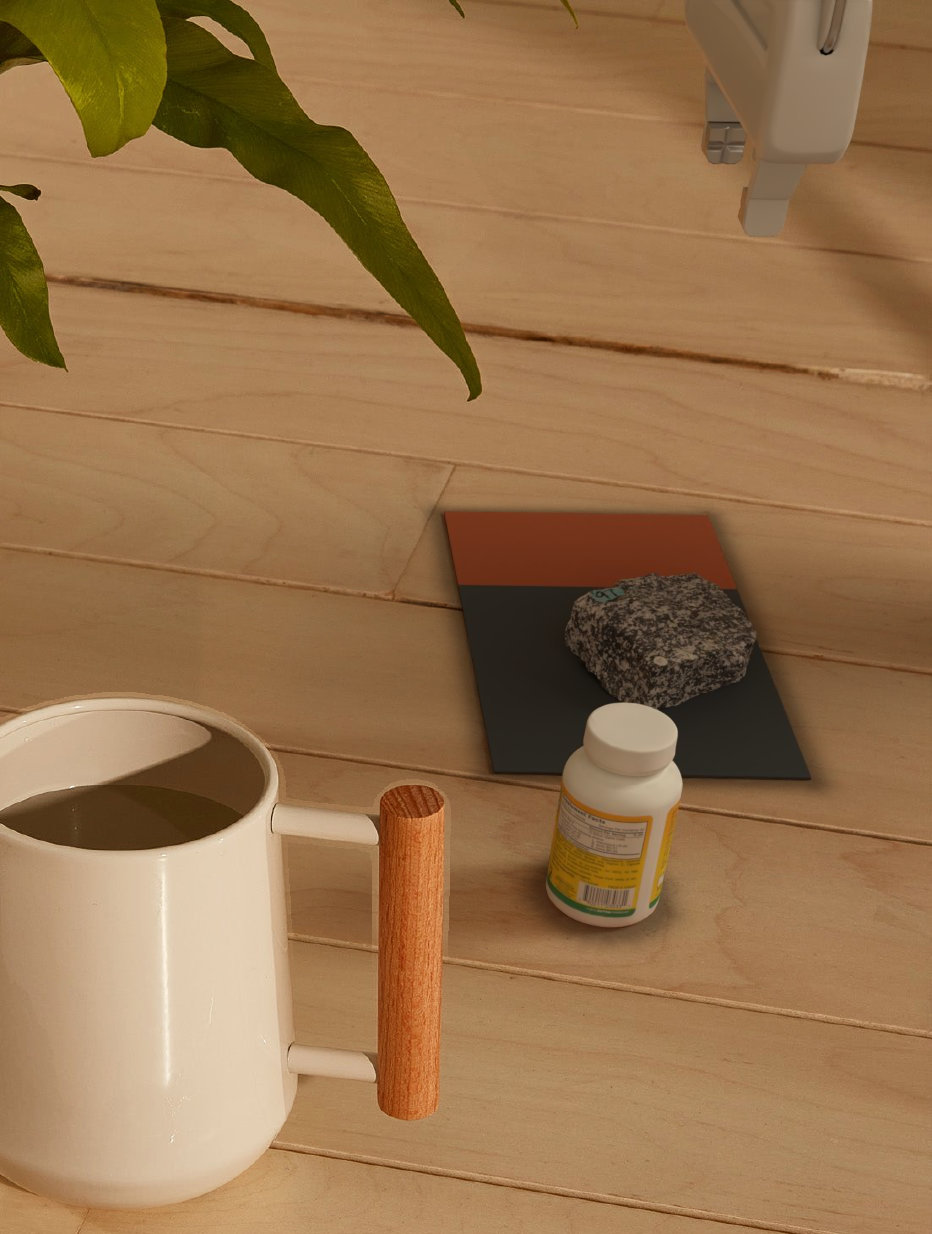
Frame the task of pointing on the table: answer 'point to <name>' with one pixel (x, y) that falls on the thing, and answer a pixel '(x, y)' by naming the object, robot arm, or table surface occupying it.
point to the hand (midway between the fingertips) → (738, 194)
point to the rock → (661, 638)
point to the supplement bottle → (615, 817)
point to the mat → (558, 680)
